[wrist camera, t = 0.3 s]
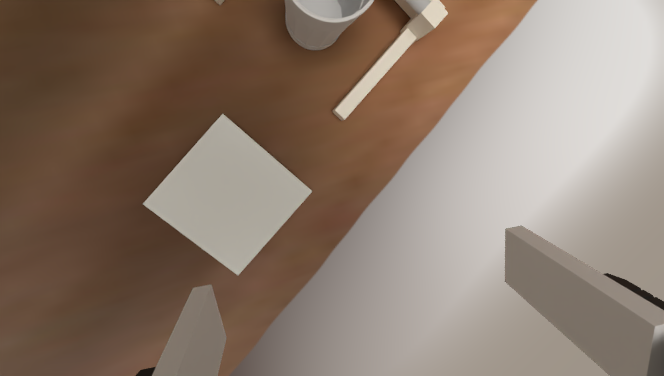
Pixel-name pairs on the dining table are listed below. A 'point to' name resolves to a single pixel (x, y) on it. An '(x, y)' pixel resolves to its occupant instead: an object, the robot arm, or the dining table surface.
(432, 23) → the dispenser bay
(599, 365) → the robot arm
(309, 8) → the cup
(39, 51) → the dining table surface
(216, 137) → the mat
